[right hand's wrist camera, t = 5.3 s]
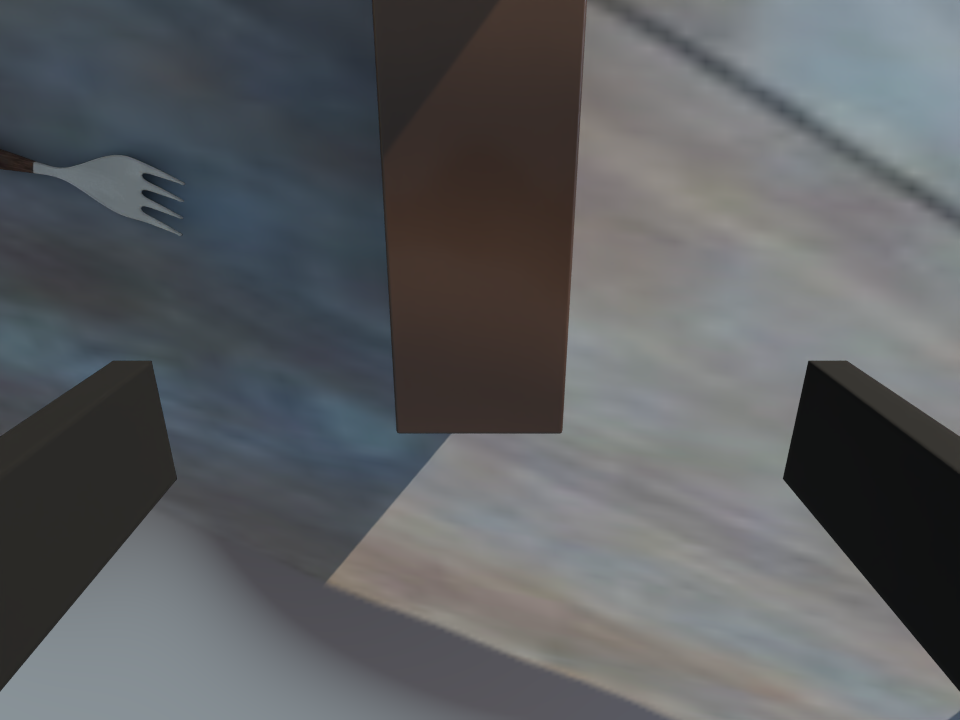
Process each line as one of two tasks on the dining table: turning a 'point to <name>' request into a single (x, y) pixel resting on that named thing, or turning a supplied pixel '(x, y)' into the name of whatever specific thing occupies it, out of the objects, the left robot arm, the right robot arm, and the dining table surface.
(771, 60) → the dining table surface
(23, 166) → the fork
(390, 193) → the walnut box
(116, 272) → the dining table surface
